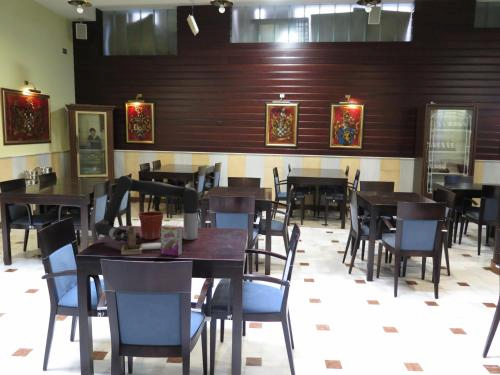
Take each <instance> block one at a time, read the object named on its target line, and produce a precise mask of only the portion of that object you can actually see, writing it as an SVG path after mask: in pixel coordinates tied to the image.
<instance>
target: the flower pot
mask: <svg viewBox="0 0 500 375" xmlns="http://www.w3.org/2000/svg"><path fill="white" fill-rule="evenodd" d="M137 215H138V217H139V221H140V230H141V238H142V239H144V240H149V241H150V240H158V239H161V226H163V220H164V215H165V212H162V211H144V212H139V213H138V214H137Z"/></svg>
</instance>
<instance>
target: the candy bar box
mask: <svg viewBox="0 0 500 375" xmlns="http://www.w3.org/2000/svg"><path fill="white" fill-rule="evenodd" d="M182 230H183V225H181V226H180V225H170V224H162V226H161V238H160V243H161V249H160V255H164V256H165V255H167V256H174V257H179V256H180V255H182V253H183V249H182V248H183V246H182V244H183V236H182V235H183V231H182Z"/></svg>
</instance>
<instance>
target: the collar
mask: <svg viewBox="0 0 500 375" xmlns="http://www.w3.org/2000/svg"><path fill="white" fill-rule="evenodd" d="M142 252H143V249H142V245H141V244H136V249H134V250H128V244H125V245H122V246H121V250H120V254H121V256H123V255H124V256H125V255H128V256H129V255H142V254H143V253H142Z"/></svg>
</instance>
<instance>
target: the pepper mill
mask: <svg viewBox="0 0 500 375" xmlns="http://www.w3.org/2000/svg"><path fill="white" fill-rule="evenodd" d="M126 231H127V234H128V239H127V245H128V250H134V249H136V245H137V239H136V233H137V232H136V231H137V229H135V228H134V226H133V225H131V226H129V227H128V229H126Z"/></svg>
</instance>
